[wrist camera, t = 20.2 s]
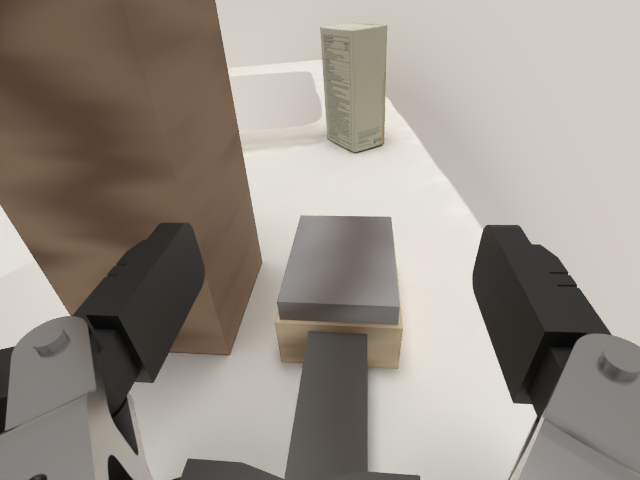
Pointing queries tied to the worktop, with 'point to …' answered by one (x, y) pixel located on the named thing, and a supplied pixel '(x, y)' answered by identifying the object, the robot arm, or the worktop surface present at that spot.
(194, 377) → the worktop surface
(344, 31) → the skincare box
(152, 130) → the walnut stand
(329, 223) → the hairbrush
